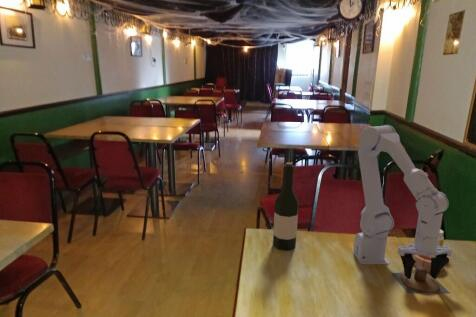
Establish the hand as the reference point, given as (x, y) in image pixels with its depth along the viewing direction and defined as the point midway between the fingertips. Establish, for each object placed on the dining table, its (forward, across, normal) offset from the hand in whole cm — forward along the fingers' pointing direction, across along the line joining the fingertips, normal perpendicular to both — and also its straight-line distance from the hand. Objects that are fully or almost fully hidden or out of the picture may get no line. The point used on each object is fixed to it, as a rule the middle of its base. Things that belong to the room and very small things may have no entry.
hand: (420, 276), depth 100 cm
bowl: (+2, +8, +10) cm, 13 cm away
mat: (+2, 0, 0) cm, 2 cm away
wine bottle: (+2, -36, +23) cm, 43 cm away
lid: (+2, 0, 0) cm, 2 cm away
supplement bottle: (+2, +15, +18) cm, 24 cm away
